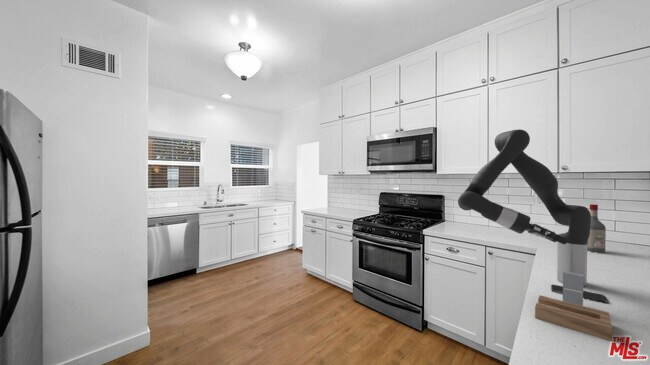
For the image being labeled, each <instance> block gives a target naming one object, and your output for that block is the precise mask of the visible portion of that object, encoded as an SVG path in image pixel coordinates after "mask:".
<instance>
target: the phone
mask: <svg viewBox="0 0 650 365" xmlns="http://www.w3.org/2000/svg"><path fill="white" fill-rule="evenodd" d="M550 286H551V288H550V289H551V290H550V291H551V292H552V293H555V294H561V295H563V285H557V284H550ZM583 298H584V299H583V300H587V299H589V300H588V301H592V302H597V303H601V302H602V304H608V303H609V302H608V299H607V297H606V295H604V294H601V293H596V292H592V291H587V290H583Z"/></svg>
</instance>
